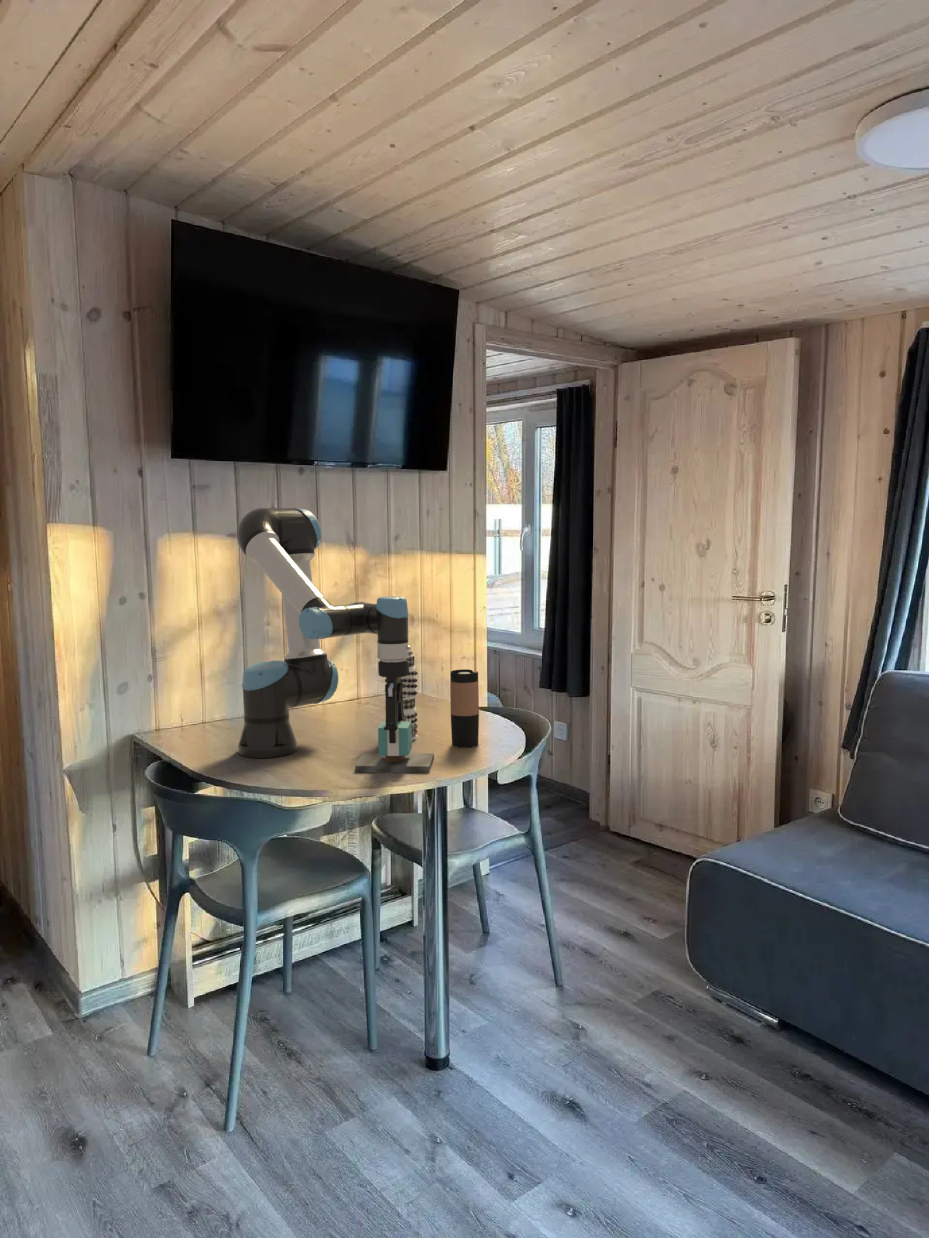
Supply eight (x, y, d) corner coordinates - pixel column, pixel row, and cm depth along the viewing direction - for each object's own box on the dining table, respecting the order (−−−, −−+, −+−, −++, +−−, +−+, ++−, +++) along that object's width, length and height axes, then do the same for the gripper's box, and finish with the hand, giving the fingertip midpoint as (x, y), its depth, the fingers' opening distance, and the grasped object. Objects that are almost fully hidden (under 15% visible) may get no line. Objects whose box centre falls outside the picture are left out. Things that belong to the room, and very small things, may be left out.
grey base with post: (355, 771, 208) (354, 733, 207) (363, 758, 220) (363, 722, 219) (429, 772, 207) (428, 733, 206) (434, 759, 219) (433, 722, 218)
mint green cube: (378, 755, 210) (378, 728, 209) (383, 747, 217) (382, 721, 216) (408, 755, 209) (407, 728, 208) (411, 748, 216) (411, 721, 216)
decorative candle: (420, 733, 246) (418, 647, 243) (417, 741, 237) (415, 651, 234) (388, 733, 246) (386, 647, 243) (384, 742, 237) (382, 652, 234)
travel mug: (449, 747, 230) (448, 673, 228) (453, 740, 238) (452, 669, 235) (477, 748, 229) (476, 674, 227) (480, 741, 236) (480, 669, 234)
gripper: (403, 666, 200) (405, 762, 203) (413, 653, 220) (415, 741, 223) (371, 666, 201) (373, 762, 203) (384, 653, 221) (386, 741, 223)
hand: (395, 751), depth 213 cm, fingers closed on mint green cube, 7 cm apart
